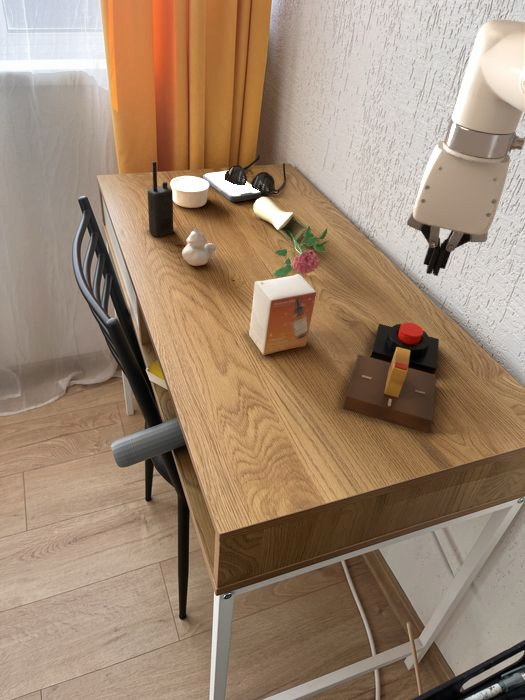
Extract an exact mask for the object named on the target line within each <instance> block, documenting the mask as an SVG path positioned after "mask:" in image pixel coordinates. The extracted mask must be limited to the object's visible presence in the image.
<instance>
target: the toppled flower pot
mask: <svg viewBox="0 0 525 700" xmlns="http://www.w3.org/2000/svg"><path fill="white" fill-rule="evenodd" d="M253 212H254V215H255V216H256V217H258V219H260V220H263V221H265V222H267V223H269V224H271V225H273V227H274V228H275V229H276V230H277V231H278V232H279V233H280V234H281V235H282V236H283V237H284V238H285V239H286V240H287V241H288V242H289V243H290V244H291V245H292V248H294V249H292V250H291V251H288V250H287V248H281V249H278V250H275V251H274V254H275V255H277V256H279V257H287V254H288V253H289V252H291V256H290V257H288V258H286V259H285V261H284V263H283V264H285V266H282V267H280V268H278V269H276V270H275V272H273V274H272V276H273V277H286V276H287V275H289V274H290V272H291V271H292V270H293V269H294V270H296V273H298V274H302V275H303V274H305V275H306V274H310V273H312V272H314V271H315V270H317V268H318V266H319V264H320V257H318V256H317V254H316V252H314V251H317V252H320V253H322V252H327V248H326V247H325V245H326V244H327V243H328V242H329V240H326V241H323V242H318V241H319V240H324V239H325V238H326V237H327V234H328V227H326V228H325V229H324V231H323V232H322V233H321V234H320V236H318V237H317V236H314V234H313V233H311V226H310V225H306V224H305V223H304V222H303V221H302V220H301V219H300V217H298V216H297V215H296V214H295V213H294V212H291V211H290V212H289V211H287V212H286V211H284V210H282V208H280V206H278V205H277V204H276V203H275V202H274V201H273V200H272V199H271V198H269V197H268V196H261V197H260V198H256V200H255V202H254V203H253ZM303 233H304V234H303ZM302 234H303V235H302ZM302 237H303V238H302ZM298 239H299V240H300V241H301V242H300V243H299V242H298ZM303 245H307V246H308V247H311V246H313V249H312V250H311V249H308V248H304V247H303ZM297 247H298V248H297ZM301 247H302V248H303V249H302V248H301ZM298 249H299V250H298ZM295 252H297V253H298V256H295V255H294V254H295ZM293 257H294V261H292V258H293ZM291 261H292V262H291ZM291 264H292V265H291Z"/></svg>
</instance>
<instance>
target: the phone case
mask: <svg viewBox="0 0 525 700" xmlns="http://www.w3.org/2000/svg"><path fill="white" fill-rule="evenodd" d="M227 171H228V170H222V171H221V170H220V171H215V172H208V173H207V172H206V173H204V174H202V175H203V176H202V179H204V180H206V181H207V182H208V183H209V186H210V187H212V188H213V189H215V190H216V191H217V192H218V193H220V194H221V195H222V196H224V197H225V199H227V200H229V201H230V202H233V203H236V202H237V203H238V202H242V201H250V200H255V199H256V200H257V199H259V198H261V197H262V190H260V189H258V188H257V189H258V190H257V189H255V188H253V187H252V185H253V184H251V183H250V182H248V181H247V180H246V183H245V185H237V184H233V183H231V182H229V181H227V180H225V174H226V172H227ZM259 190H260V191H259Z"/></svg>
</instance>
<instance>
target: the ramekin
mask: <svg viewBox="0 0 525 700" xmlns="http://www.w3.org/2000/svg"><path fill="white" fill-rule="evenodd" d="M170 188H171V189H172V190H173V203H174V204H175V205H177V206H180V207H182V208H187V209H194V208H195V209H197V208H200V207H203V206H205V205H206V203H207V201H208V196H209V189H210V184H209V183H208V182H207V181H206V180H204V179H203V177H202V178H201V177H198V176H192V175H182V176H177V177H174V178H173V179H171V181H170Z"/></svg>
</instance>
